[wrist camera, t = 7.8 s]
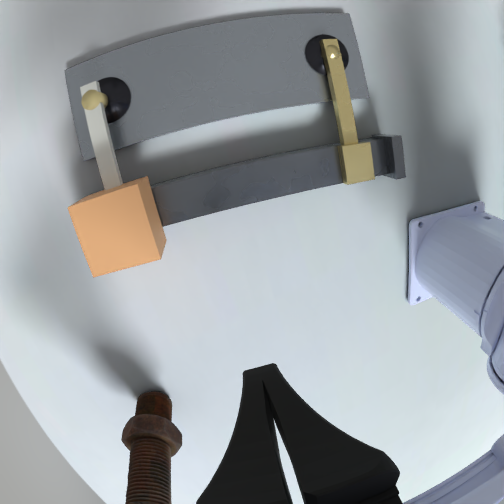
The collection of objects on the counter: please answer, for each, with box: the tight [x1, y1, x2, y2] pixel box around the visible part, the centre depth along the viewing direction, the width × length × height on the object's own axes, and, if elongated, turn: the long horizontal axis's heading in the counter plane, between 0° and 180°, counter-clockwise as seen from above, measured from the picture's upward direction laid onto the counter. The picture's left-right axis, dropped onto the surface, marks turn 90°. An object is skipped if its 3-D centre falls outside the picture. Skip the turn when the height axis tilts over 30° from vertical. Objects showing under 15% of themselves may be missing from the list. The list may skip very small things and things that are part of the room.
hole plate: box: [65, 13, 369, 161], centre depth 17 cm, size 19×6×1 cm, turn 102°
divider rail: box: [151, 39, 406, 227], centre depth 17 cm, size 21×10×3 cm, turn 102°
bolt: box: [122, 391, 182, 504], centre depth 18 cm, size 6×5×15 cm
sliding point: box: [68, 81, 166, 277], centre depth 15 cm, size 4×10×4 cm, turn 12°
